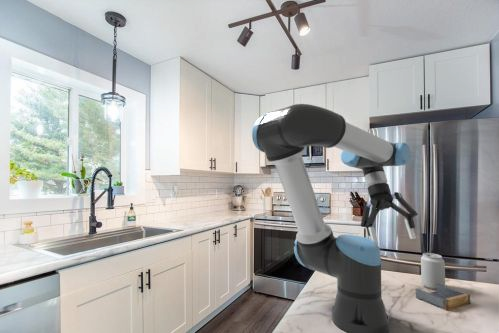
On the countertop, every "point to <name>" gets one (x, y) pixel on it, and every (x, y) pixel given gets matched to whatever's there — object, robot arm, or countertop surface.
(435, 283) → the can
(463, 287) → the countertop surface
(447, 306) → the open rectangular tray
